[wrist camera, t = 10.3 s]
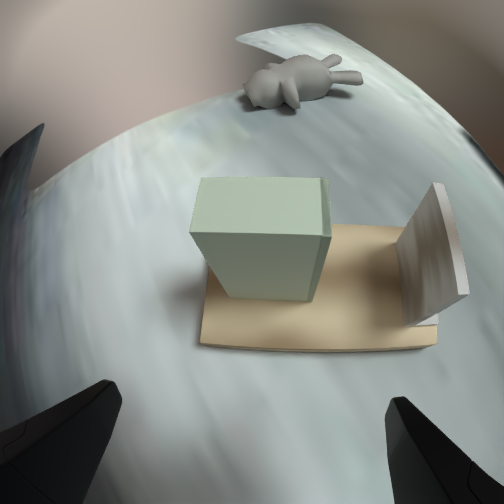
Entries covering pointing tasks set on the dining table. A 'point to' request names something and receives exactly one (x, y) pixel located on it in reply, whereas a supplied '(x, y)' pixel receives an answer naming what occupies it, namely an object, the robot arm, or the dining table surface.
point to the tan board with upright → (356, 291)
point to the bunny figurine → (296, 81)
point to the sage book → (264, 234)
